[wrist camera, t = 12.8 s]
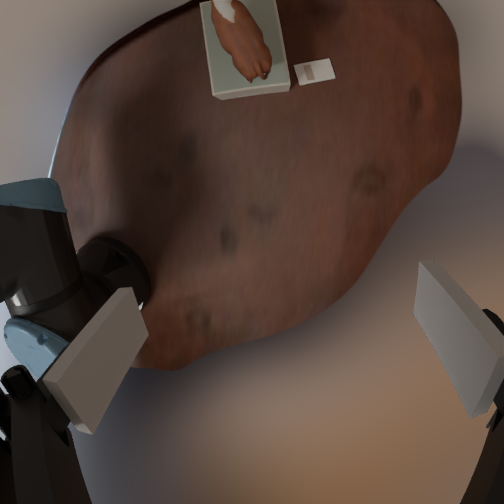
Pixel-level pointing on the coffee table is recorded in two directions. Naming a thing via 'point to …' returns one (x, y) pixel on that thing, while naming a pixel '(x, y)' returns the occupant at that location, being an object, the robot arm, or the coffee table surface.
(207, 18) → the plinth
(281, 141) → the coffee table surface
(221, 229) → the coffee table surface
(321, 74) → the page
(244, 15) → the bull figurine
